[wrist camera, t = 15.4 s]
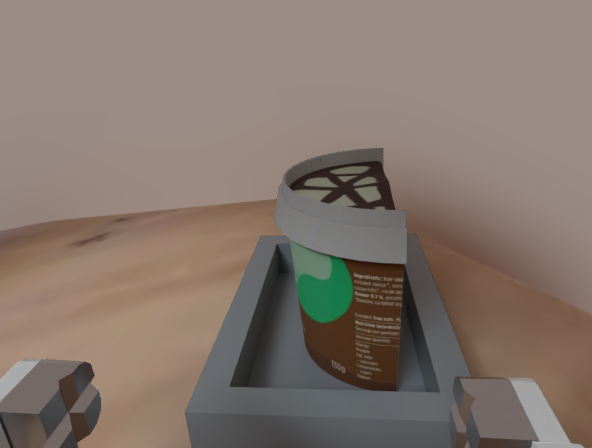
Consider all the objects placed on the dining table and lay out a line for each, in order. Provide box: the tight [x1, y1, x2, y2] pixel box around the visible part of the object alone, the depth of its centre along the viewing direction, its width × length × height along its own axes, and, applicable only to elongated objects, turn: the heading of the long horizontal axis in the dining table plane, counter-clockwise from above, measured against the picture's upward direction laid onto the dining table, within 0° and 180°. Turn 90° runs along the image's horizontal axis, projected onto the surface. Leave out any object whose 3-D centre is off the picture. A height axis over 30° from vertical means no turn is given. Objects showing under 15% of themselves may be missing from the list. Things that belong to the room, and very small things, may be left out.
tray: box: [185, 234, 472, 448], centre depth 26 cm, size 12×18×4 cm, turn 174°
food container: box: [274, 148, 407, 391], centre depth 24 cm, size 12×6×10 cm, turn 174°
